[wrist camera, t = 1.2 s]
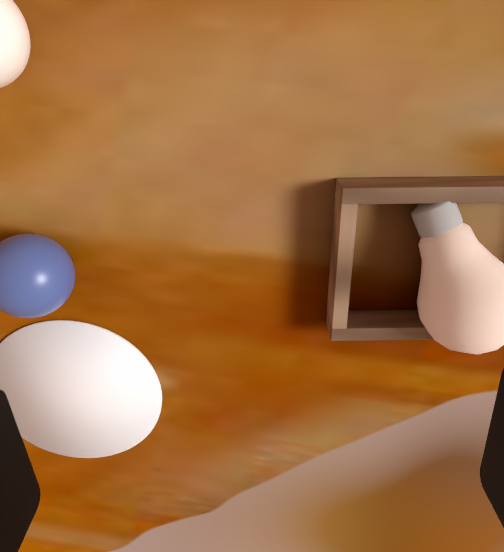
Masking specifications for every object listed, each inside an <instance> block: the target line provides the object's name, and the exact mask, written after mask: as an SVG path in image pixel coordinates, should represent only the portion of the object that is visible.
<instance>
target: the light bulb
mask: <svg viewBox="0 0 504 552" xmlns="http://www.w3.org/2000/svg"><path fill="white" fill-rule="evenodd" d="M411 216H412V218H413V221H414V223H415V226H416V228H417V231H418V234H419V236H420V237H421V239H420V242H419V244H418V246H419V250H420V254H421V259H422V267H421V279H420V285H419V291H418V297H417V306H418V312H419V318H420V320H421V322H422V323H423V325H424V326H425V328H426V329H427V331H428V332H429V334H430V335H431V336H432V337H433V339H434V340H435V341H437V342H438V343H440V344H441V345H443V346H445V347H446V348H448V349H449V350H453V351H458V352H465V353H471V354H482V353H486V352H490V351H494V350H497V349H499V348H500V347H501V346H503V345H504V264H503V263H502V262H501V261H500V260H498V259H497V258H496V257H495V256H493V255H492V254H491V253H490V252H489V251H488V250H487V249H486V248H485V247H484V246H483V245H482V244H481V243H479V242H478V240H477V238H476V236H475V235H474V233H473V231H472V229H471V227H470V226H469V225H467V224H465V223H463V222H462V221H463V220H462V217H461V214H460V212H459V209H458V206H457V203H451V202H450V201H446V202H441V203H419V204H418V205H417V207H416V208H415V209H414V211H413V212H412V213H411Z"/></svg>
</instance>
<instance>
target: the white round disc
mask: <svg viewBox="0 0 504 552" xmlns="http://www.w3.org/2000/svg"><path fill="white" fill-rule="evenodd" d="M0 390H3V391H4V392H5V394H6V396H7V399H8V401H9V404H10V407H11V410H12V413H13V415H14V418H15V421H16V424H17V426H18V429H19V432H20V435H21V437H22V438H23V439H25V440H26V441H28V442H30V443H32V444H33V445H35V446H37V447H40V448H42V449H44V450H47V451H50V452H53V453H56V454H60V455H64V456H70V457H78V458H97V457H105V456H110V455H114V454H117V453H120V452H123V451H125V450H128V449H130V448H131V447H133V446H135V445H137V444H138V443H139V442H141V441H142V440H143V439H144V438H145V437H146V436H147V435H148V434H149V433H150V432H151V431H152V429H153V428H154V426H155V424H156V423H157V421H158V418H159V415H160V412H161V407H162V390H161V385H160V382H159V379H158V376H157V374H156V372H155V370H154V368H153V366H152V365H151V364H150V362H149V361H148V359H147V358H146V357H145V356H144V355H143V354H142V353H141V352H140V351H139V349H137V348H136V347H135V346H134V345H133V344H131V343H130V342H129V341H127V340H126V339H124V338H123V337H121V336H120V335H118V334H116V333H114V332H112V331H110V330H108V329H105V328H102V327H100V326H97V325H94V324H90V323H86V322H81V321H74V320H48V321H42V322H37V323H34V324H31V325H28V326H25V327H23V328H21V329H19V330H17V331H15V332H13V333H12V334H11V335H9V336H8V337H7V338H5V339H4V340H3V341H2V342H1V343H0Z"/></svg>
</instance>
